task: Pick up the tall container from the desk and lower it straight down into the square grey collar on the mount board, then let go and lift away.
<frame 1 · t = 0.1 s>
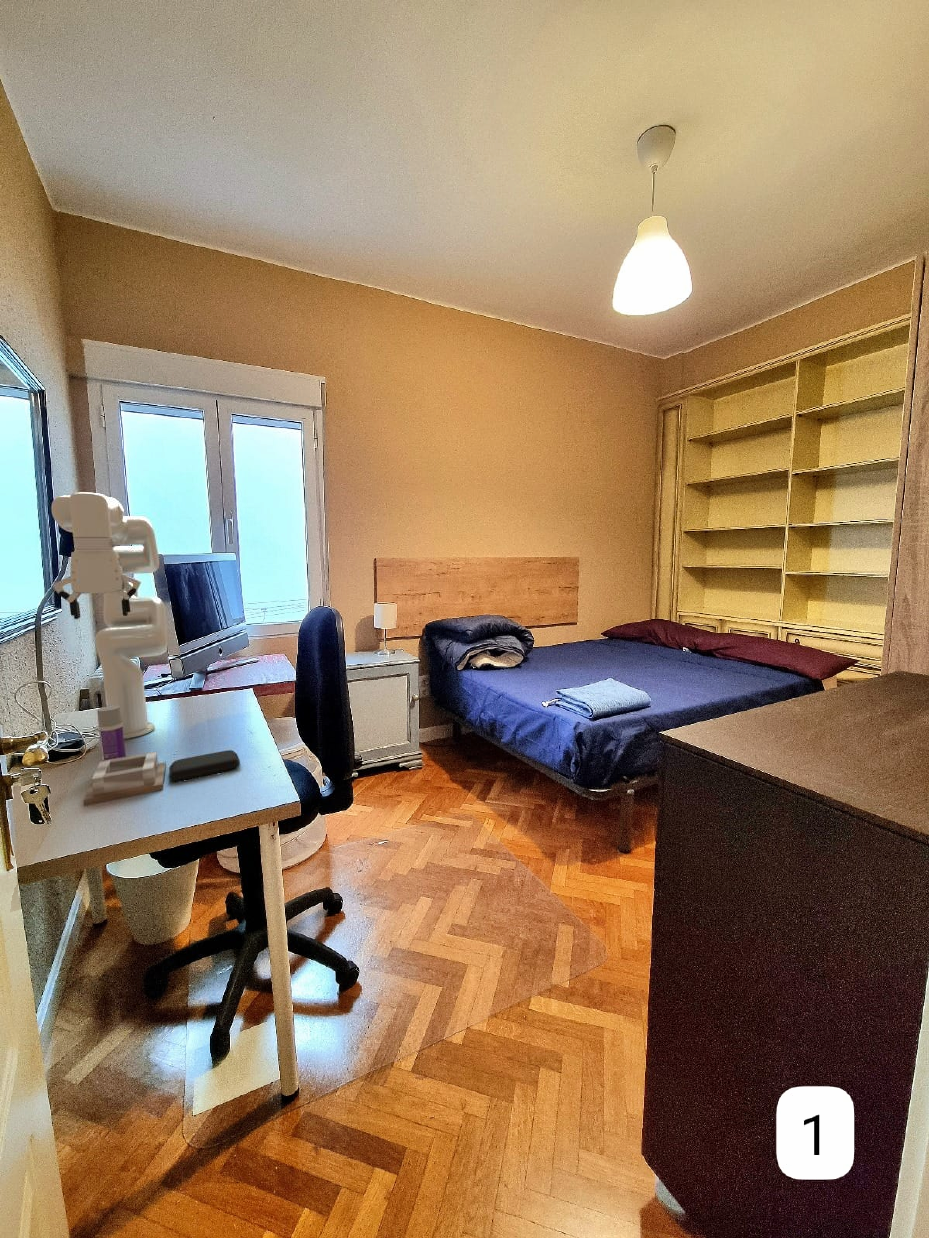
hand: (101, 617, 122), 37 cm above the table, tool pointing down, fingers open, 9 cm apart
carrying case or bag: (205, 771, 120), on the table
container: (115, 768, 122), on the table
mount: (128, 784, 113), on the table
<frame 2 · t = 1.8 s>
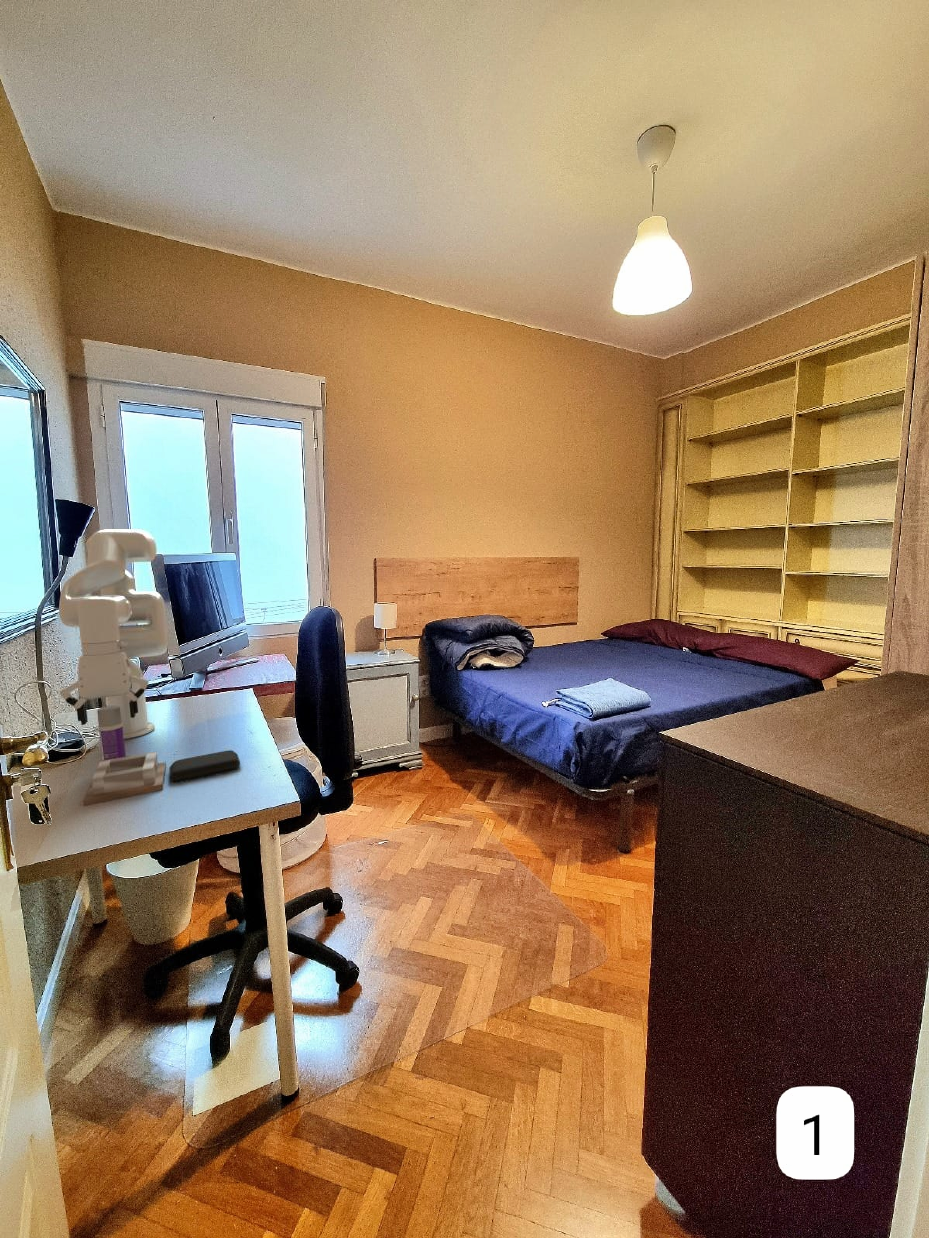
hand: (109, 719, 120), 12 cm above the table, tool pointing down, fingers open, 9 cm apart
nothing on the table moved.
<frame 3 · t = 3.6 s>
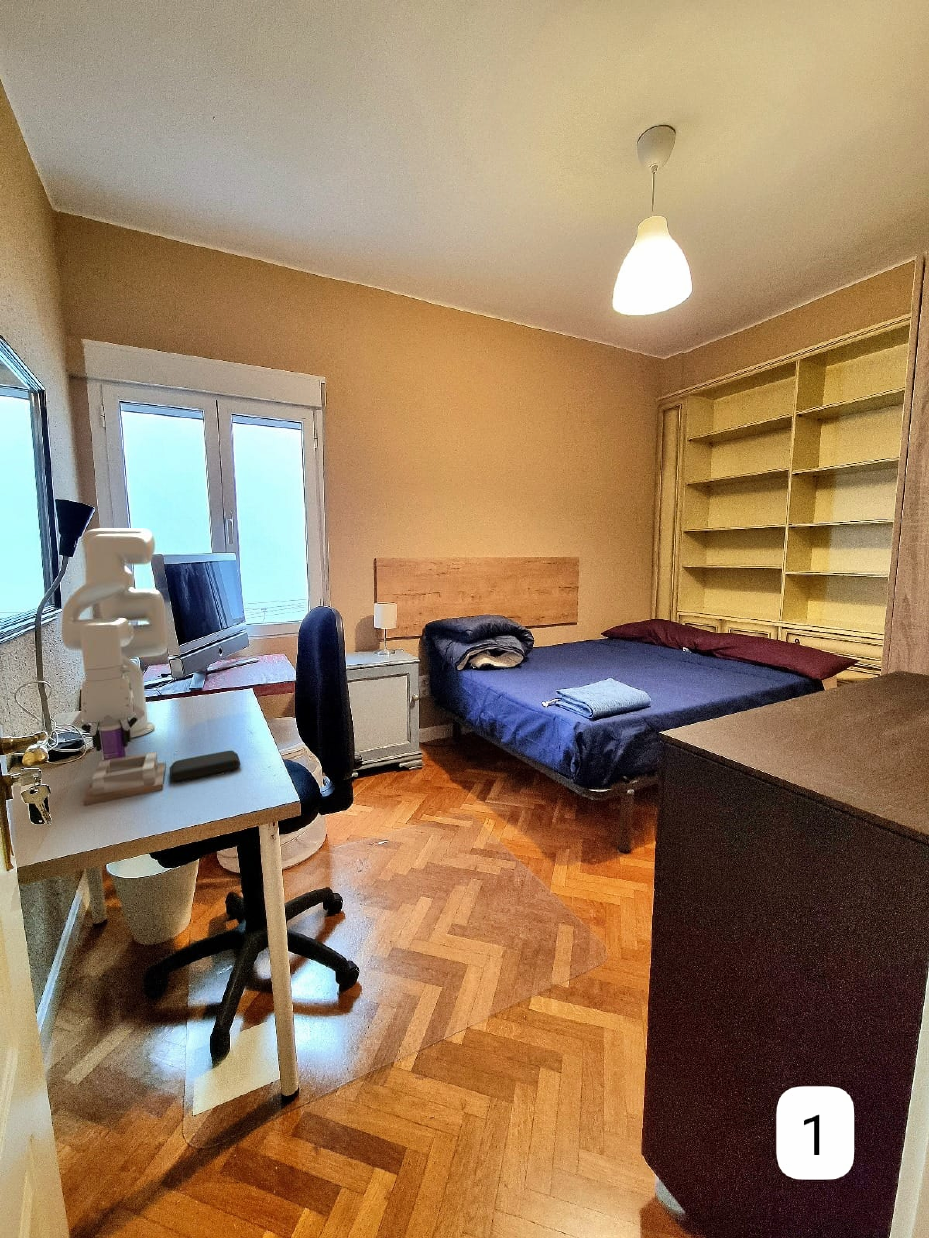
hand: (112, 746, 122), 5 cm above the table, tool pointing down, fingers closed on container, 4 cm apart
container: (115, 768, 122), on the table, touching gripper
everything else where it was.
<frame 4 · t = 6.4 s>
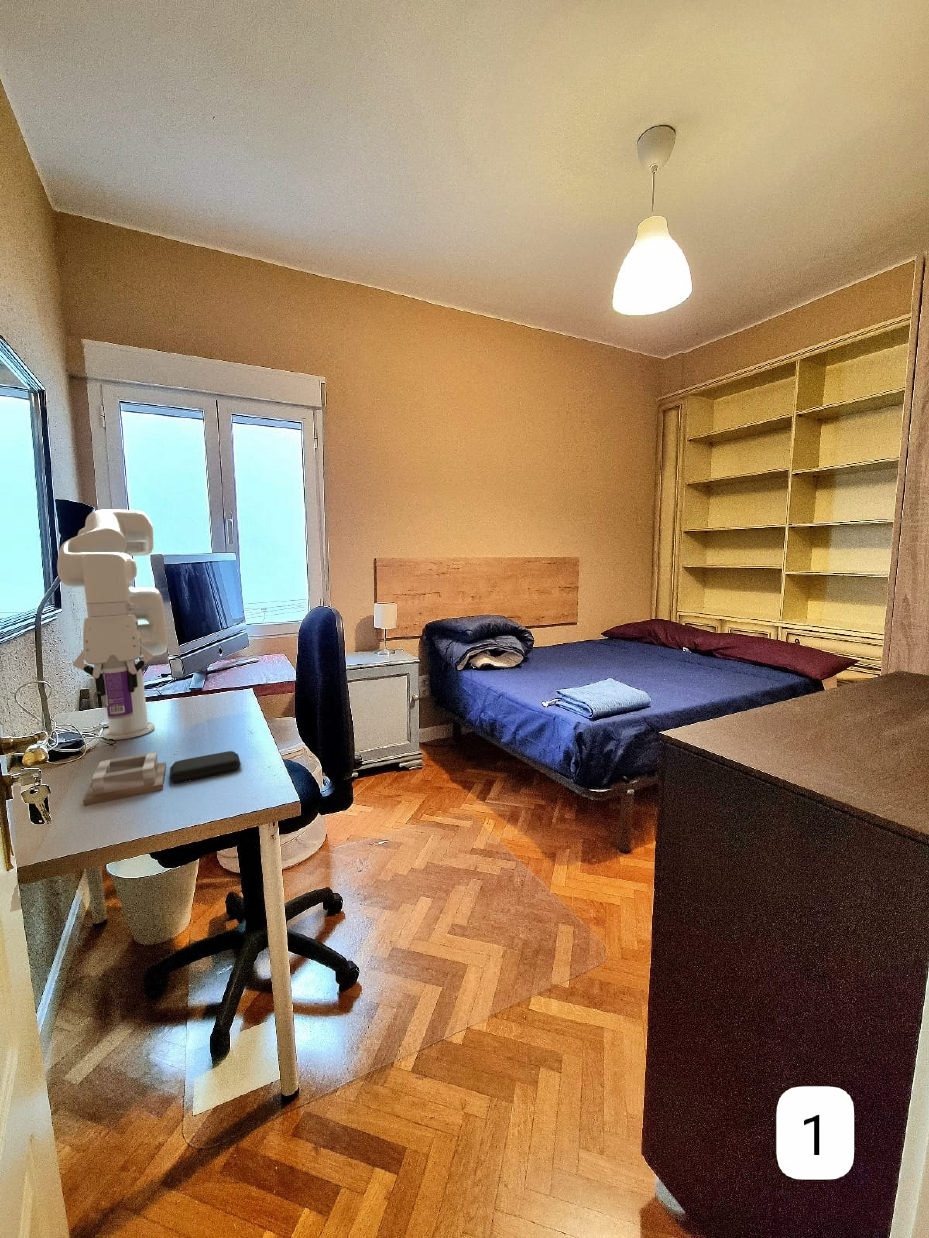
hand: (118, 691, 110), 21 cm above the table, tool pointing down, fingers closed on container, 4 cm apart
container: (120, 716, 111), point 16 cm above the table, touching gripper
everything else where it was.
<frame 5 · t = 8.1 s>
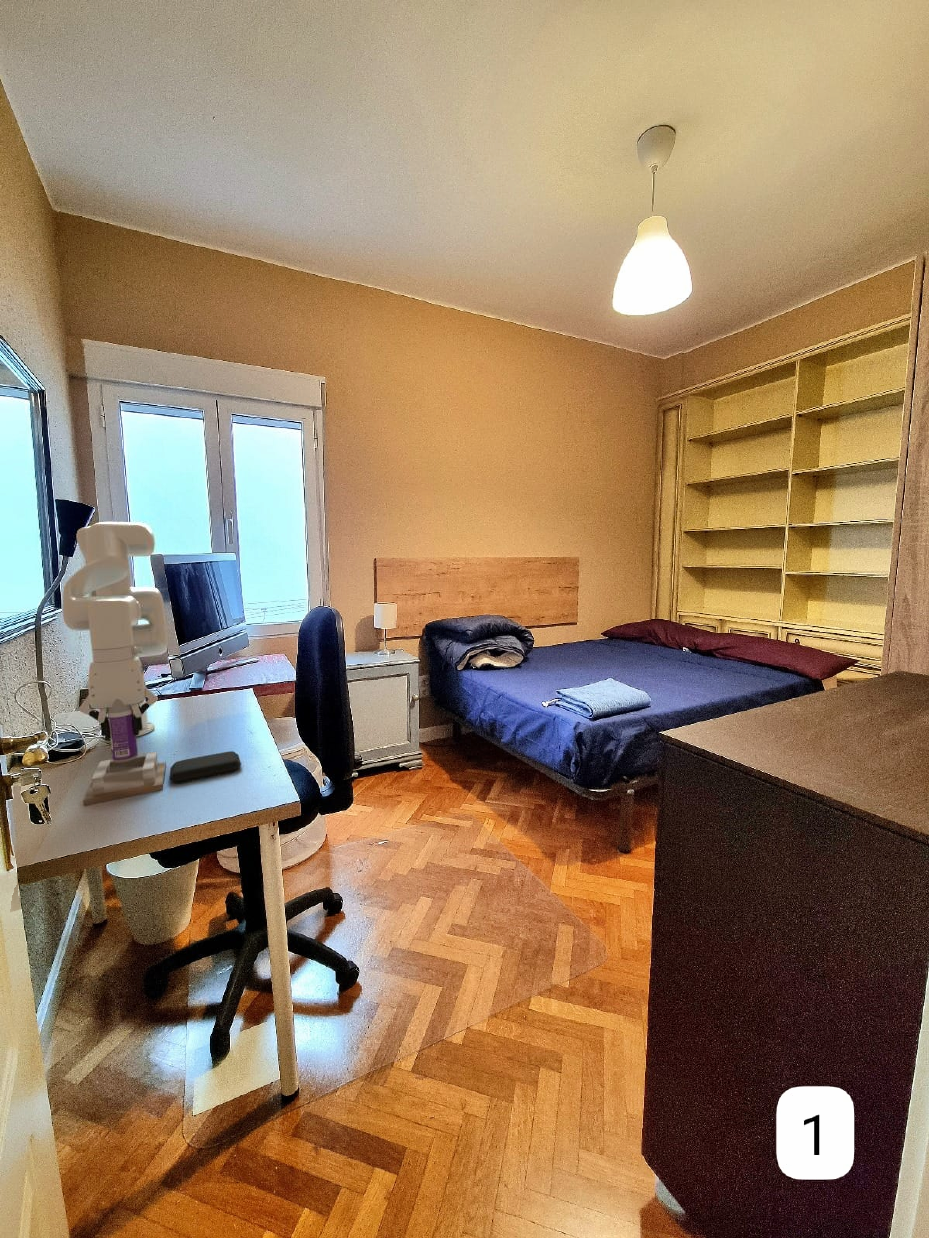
hand: (122, 735, 111), 12 cm above the table, tool pointing down, fingers closed on container, 4 cm apart
container: (125, 759, 112), point 6 cm above the table, touching gripper
when the fingers open (8 cm above the table, at t = 9.2 s): container drops 1 cm, resting on mount.
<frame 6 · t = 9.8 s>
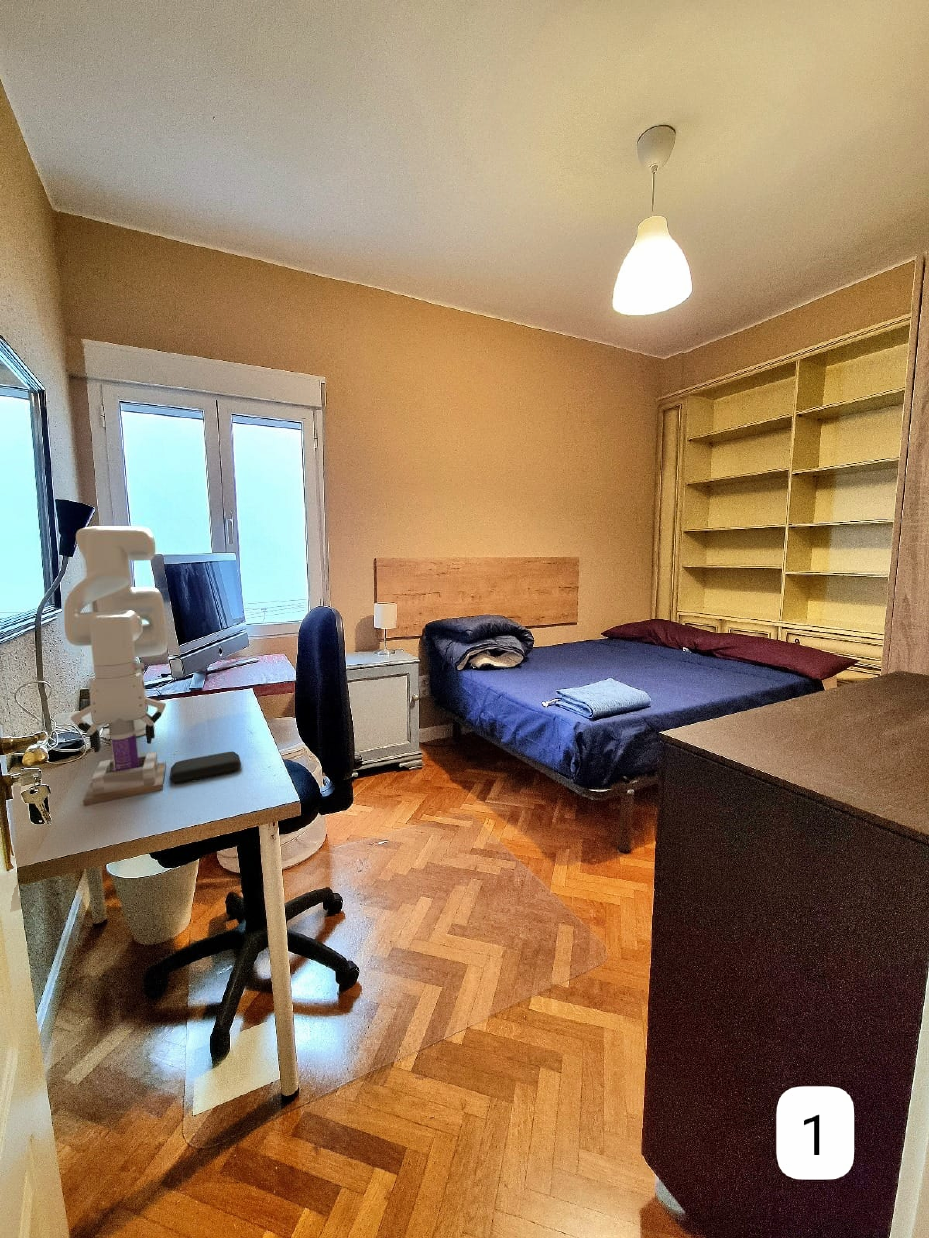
hand: (124, 746, 112), 9 cm above the table, tool pointing down, fingers open, 9 cm apart
container: (128, 779, 113), point 1 cm above the table, touching mount
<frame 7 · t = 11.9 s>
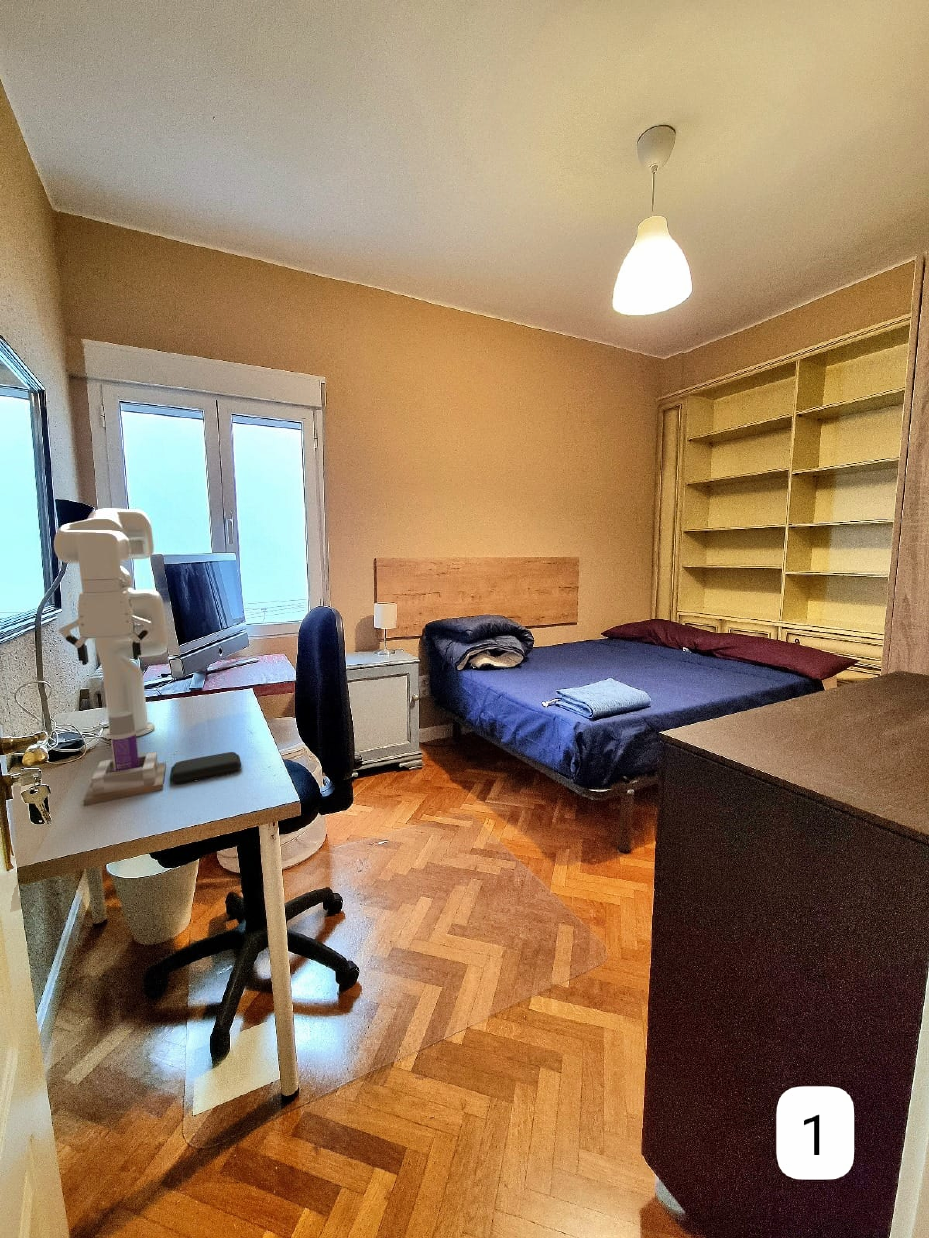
hand: (111, 661, 115), 27 cm above the table, tool pointing down, fingers open, 9 cm apart
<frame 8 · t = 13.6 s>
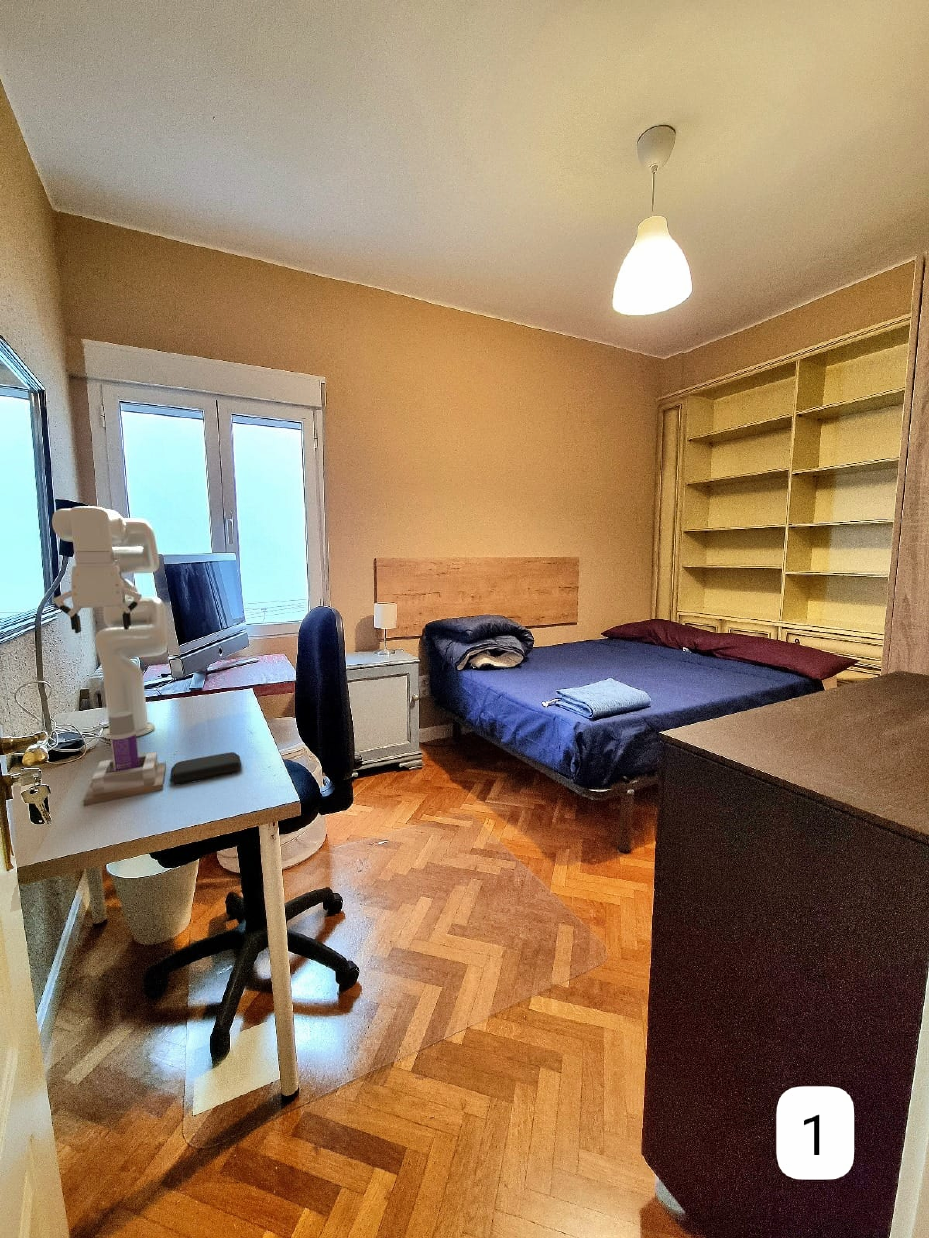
hand: (102, 630, 122), 33 cm above the table, tool pointing down, fingers open, 9 cm apart
at the end: container 0.2 cm off-centre on the mount, point 1.0 cm above the mount's base; container tilted 0°; the gripper is holding nothing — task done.
